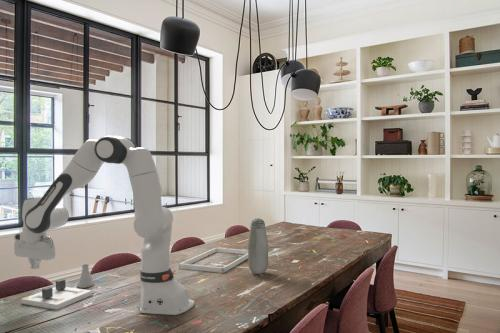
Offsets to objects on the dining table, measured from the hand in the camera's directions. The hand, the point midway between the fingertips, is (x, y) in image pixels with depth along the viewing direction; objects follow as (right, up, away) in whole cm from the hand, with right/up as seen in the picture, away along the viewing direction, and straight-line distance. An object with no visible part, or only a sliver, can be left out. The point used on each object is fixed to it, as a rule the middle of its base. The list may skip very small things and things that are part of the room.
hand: (34, 268), depth 160 cm
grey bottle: (+95, -12, +34) cm, 101 cm away
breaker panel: (+8, -14, +2) cm, 16 cm away
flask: (+13, -14, +20) cm, 27 cm away
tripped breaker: (+7, -11, -2) cm, 13 cm away
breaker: (+7, -11, +8) cm, 16 cm away
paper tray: (+72, -12, +61) cm, 95 cm away
